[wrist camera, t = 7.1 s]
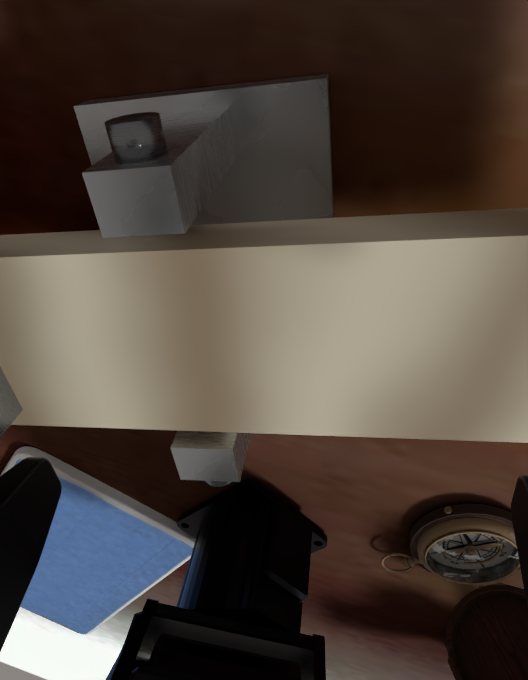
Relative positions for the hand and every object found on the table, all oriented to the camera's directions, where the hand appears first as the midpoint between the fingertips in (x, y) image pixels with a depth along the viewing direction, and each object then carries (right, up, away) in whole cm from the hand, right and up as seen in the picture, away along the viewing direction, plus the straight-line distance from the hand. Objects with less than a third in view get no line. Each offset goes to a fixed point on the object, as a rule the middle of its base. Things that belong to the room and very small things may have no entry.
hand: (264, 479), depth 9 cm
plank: (-2, +3, +5) cm, 6 cm away
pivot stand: (-1, +6, +9) cm, 11 cm away
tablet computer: (-14, -12, +26) cm, 31 cm away
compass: (+11, -9, +18) cm, 23 cm away
